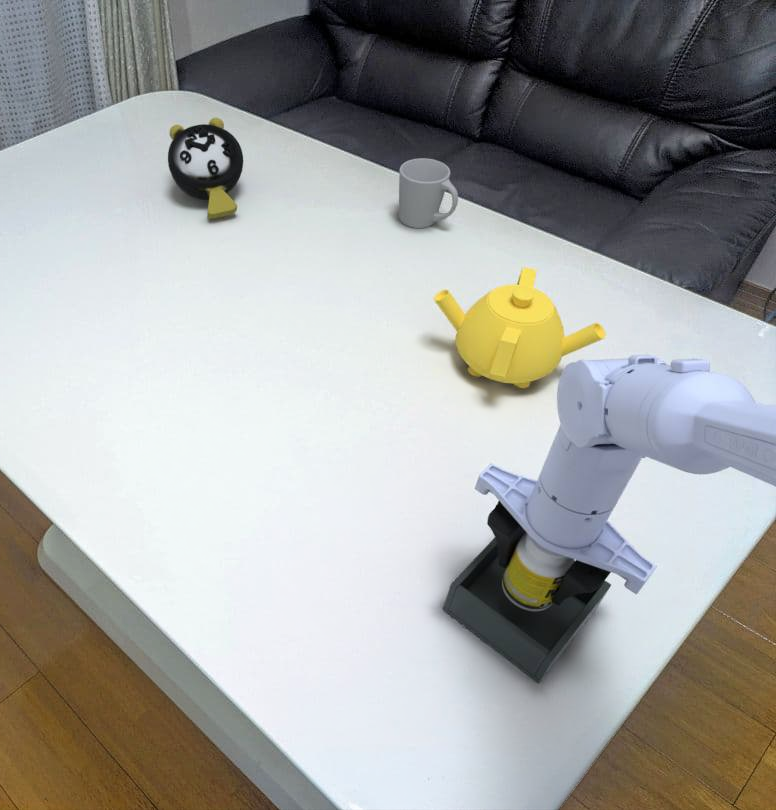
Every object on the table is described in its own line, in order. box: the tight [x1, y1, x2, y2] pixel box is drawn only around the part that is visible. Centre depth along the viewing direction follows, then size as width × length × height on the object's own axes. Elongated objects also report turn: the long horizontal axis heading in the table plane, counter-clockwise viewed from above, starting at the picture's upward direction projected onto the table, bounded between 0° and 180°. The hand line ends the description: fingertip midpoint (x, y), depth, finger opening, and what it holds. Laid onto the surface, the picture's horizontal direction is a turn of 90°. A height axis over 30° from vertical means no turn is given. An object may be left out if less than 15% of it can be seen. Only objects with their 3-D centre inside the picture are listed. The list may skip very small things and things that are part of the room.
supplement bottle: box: [502, 533, 575, 611], centre depth 64 cm, size 5×5×8 cm
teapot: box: [433, 266, 606, 389], centre depth 90 cm, size 20×18×11 cm
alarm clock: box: [167, 117, 244, 220], centre depth 121 cm, size 12×15×15 cm
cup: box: [398, 157, 459, 229], centre depth 114 cm, size 8×10×8 cm
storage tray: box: [442, 532, 612, 684], centre depth 68 cm, size 10×10×5 cm
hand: (533, 578), depth 66 cm, fingers closed on supplement bottle, 5 cm apart
